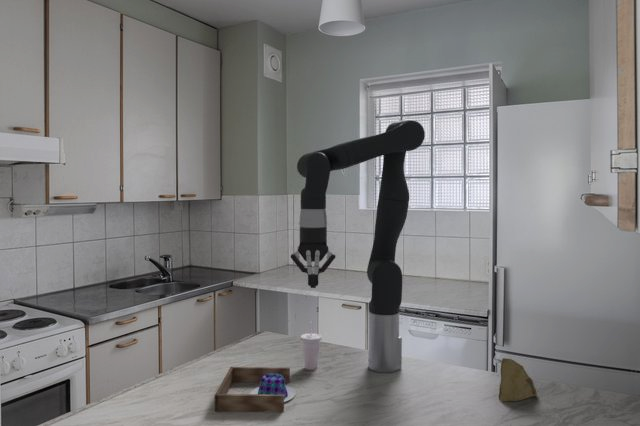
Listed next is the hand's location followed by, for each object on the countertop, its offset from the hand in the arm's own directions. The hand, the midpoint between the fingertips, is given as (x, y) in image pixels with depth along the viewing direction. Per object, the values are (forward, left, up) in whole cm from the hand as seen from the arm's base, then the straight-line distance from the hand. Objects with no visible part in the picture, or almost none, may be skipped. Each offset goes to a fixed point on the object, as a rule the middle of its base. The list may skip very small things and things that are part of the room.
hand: (313, 287), depth 132 cm
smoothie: (-3, -11, -27) cm, 30 cm away
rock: (-48, +26, -27) cm, 61 cm away
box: (+17, +3, -27) cm, 32 cm away
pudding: (+13, +4, -28) cm, 31 cm away
